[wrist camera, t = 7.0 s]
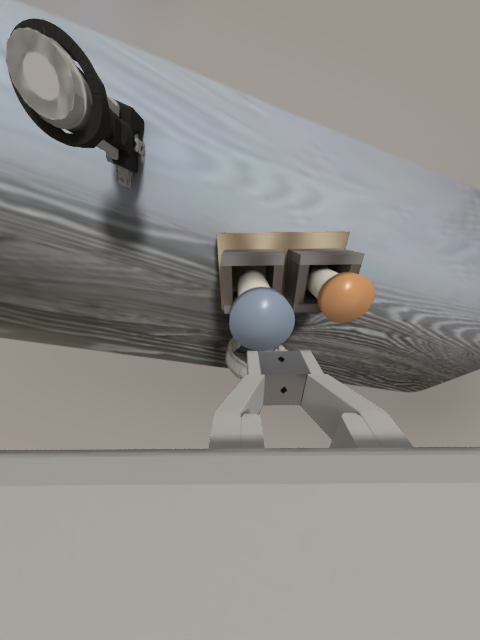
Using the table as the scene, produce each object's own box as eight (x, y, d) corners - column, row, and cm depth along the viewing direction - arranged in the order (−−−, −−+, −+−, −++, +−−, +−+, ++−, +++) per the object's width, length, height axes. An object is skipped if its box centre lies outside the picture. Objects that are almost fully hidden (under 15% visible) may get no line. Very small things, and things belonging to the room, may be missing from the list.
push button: (152, 196, 22) (93, 177, 13) (104, 178, 21) (4, 143, 12) (159, 123, 19) (89, 31, 10) (104, 98, 18) (-28, -27, 9)
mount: (222, 304, 28) (218, 327, 22) (218, 233, 23) (211, 236, 17) (325, 303, 28) (350, 325, 22) (341, 231, 24) (378, 233, 17)
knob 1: (232, 302, 21) (230, 350, 13) (231, 264, 19) (227, 293, 11) (270, 302, 21) (290, 349, 13) (273, 263, 19) (299, 292, 11)
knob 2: (291, 291, 25) (318, 323, 17) (296, 257, 23) (328, 275, 15) (323, 290, 25) (365, 322, 17) (330, 257, 23) (382, 274, 15)
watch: (269, 346, 32) (284, 399, 22) (225, 336, 31) (219, 388, 21) (280, 318, 29) (302, 364, 20) (232, 307, 28) (230, 350, 19)
